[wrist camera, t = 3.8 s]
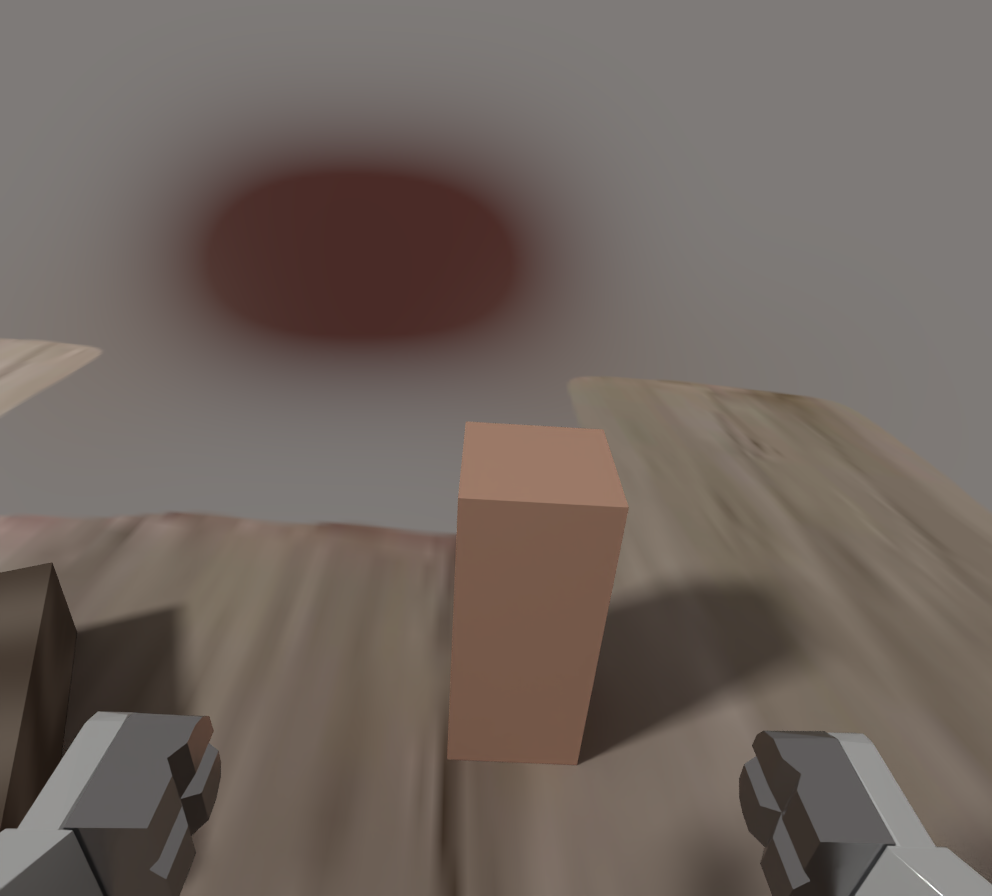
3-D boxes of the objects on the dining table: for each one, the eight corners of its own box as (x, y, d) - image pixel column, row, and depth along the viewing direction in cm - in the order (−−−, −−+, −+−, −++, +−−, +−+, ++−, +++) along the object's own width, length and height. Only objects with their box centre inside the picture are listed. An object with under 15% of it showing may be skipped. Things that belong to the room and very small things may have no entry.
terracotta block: (576, 765, 24) (628, 507, 18) (447, 759, 24) (458, 497, 18) (564, 663, 28) (603, 429, 23) (455, 658, 28) (466, 421, 23)
